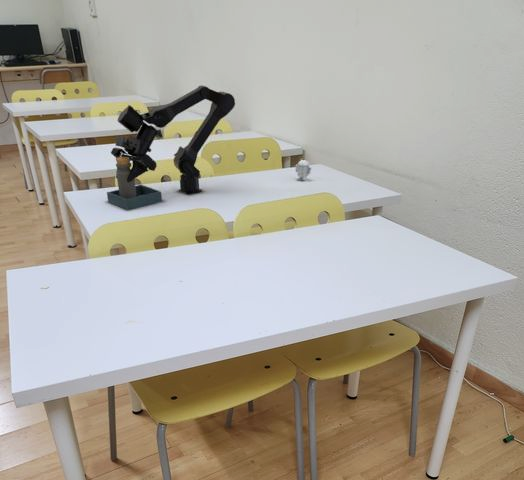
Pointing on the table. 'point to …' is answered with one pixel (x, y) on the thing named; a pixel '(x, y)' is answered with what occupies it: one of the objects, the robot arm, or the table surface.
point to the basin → (135, 198)
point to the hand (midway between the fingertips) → (122, 180)
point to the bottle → (125, 178)
